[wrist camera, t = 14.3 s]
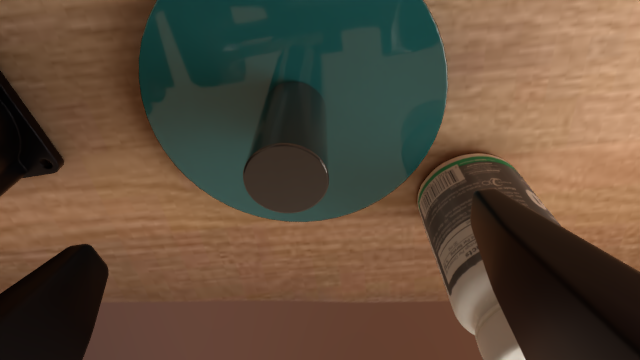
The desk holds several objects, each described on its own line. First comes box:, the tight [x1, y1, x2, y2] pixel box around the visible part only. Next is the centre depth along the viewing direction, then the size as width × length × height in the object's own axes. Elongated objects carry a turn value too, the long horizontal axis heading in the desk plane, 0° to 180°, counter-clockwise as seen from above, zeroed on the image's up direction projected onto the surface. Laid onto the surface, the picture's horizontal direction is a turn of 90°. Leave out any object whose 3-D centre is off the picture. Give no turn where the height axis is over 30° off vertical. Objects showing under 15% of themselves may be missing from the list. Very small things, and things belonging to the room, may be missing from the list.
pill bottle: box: [417, 153, 561, 360], centre depth 14 cm, size 5×5×8 cm
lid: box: [139, 0, 448, 222], centre depth 12 cm, size 11×11×6 cm
